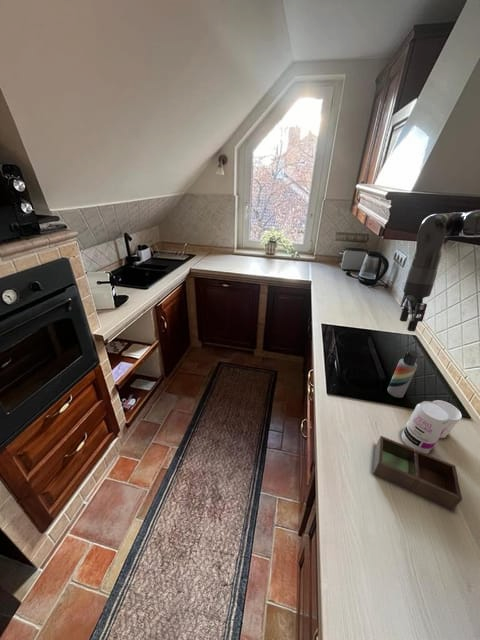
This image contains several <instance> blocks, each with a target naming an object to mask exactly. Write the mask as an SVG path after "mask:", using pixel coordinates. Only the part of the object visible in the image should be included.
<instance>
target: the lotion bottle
mask: <svg viewBox="0 0 480 640" xmlns="http://www.w3.org/2000/svg"><path fill="white" fill-rule="evenodd" d="M419 356H420V354H419V353H418V352H417V351H415V350H414V349H413V350H412V349H409V350H407V351H406V352H405V355H404V357H403V358H401V359H399V361H398V363H397V365H396V368H395V370H394V372H393V375H392V377H391V379H390V382H389V384H388V387H387V389H386V390H387V392H388V394H389V395H391V396H392V397H393V398H399V399H400V398H403V397H404V395H405V394H406V392H407V390H408V388H409V385H410V384H411V382H412V380H413V377H414V375H415V374H416V373H415V372H416V371H417V369H418V364H417V361H418V359H419Z"/></svg>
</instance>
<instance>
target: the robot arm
mask: <svg viewBox="0 0 480 640" xmlns="http://www.w3.org/2000/svg"><path fill="white" fill-rule="evenodd" d="M454 237H465V238H480V209H475V210H471V211H464V212H449V213H447V212H446V213H432V214H430V215H428V216H426V217H425V218H424V219H423V220H422V222H421V223H420V226H419V228H418V232H417V238H416V245H415V252H414V255H413V258H412V262H411V265H410V268H409V270H408V272H407V275H406V280H405V284H404V288H403V291H402V292H403V295H402V299H401V303H400V308H401V309H400V310H401V313H400V316H399V321H400V322H408V318H409V322H408V325H407V328H406V330H407V331H408V332H416V330H417V326H418V324H419V323H423V320H424V317H425V314H426V310H427V307H428V303H424V298H429V297H430V296H431V294H432V291H433V288H434V285H435V281H436V278H437V275H438V269H439V266H440V262H441V259H442V256H443V249H442V248H443V245H444V242H445V239H446V238H454Z"/></svg>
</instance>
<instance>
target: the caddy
mask: <svg viewBox="0 0 480 640" xmlns="http://www.w3.org/2000/svg"><path fill="white" fill-rule="evenodd" d="M375 444H376V445H375V449H374V450H375V451H374V459H373V470H372V471H373V472H372V473H373V474H374V475H376V476H378V477H380V478H382V479H384V480H386V481H389V482H391V483H393V484H395V485H397V486H399V487H401V488H404V489H406V490H408V491H410V492H412V493H414V494H417V495H418V496H420V497H423V498H425V499H427V500H429V501H432V502H434V503H436V504H437V505H440V506H442V507H444V508H447V509H449V510H450V511H454V510H455V508H456V507H457V506H458V505H459V504H460V503H461V501H462V500H463V497H462V492H461V487H460V483H459V478H458V477H459V476H458V473H457V467H456V465H455V464H453V463H450V462H447V461H446V460H443V459H440V458H437V457H436V456H433V455H430V454H429V453H427V454H425V453H423V452H420V451H417V450H415V449H413V448H410V447H408V446H407V445H406V444H402V443H400V442H397V441H396V440H392V439H390V438H387V437H385V436H383V435H380V436H379V438H378V440H377V442H376V443H375Z"/></svg>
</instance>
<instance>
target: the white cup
mask: <svg viewBox="0 0 480 640" xmlns="http://www.w3.org/2000/svg"><path fill="white" fill-rule="evenodd" d="M432 402H434V403H436V404H438V405H440V406H441V407H443V408H444V409H445V410H446V411H447V412H448V414H449V423H448V425H447V427H446V428H445V430H444V431H443V433H442V434H441V436H440V437H439V439H445V438H446V437H447V436H448V435H449V433H451V432H452V430H454V428H455V427H456V426H457V424H458V423H459V422H460V420H461V419H462V418H463V416H462V413H461V411H460V409H458V408H457V407H456V406H454V405H453V404H452V403H449V402H448V401H444V400H439V399H436V400H432Z"/></svg>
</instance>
